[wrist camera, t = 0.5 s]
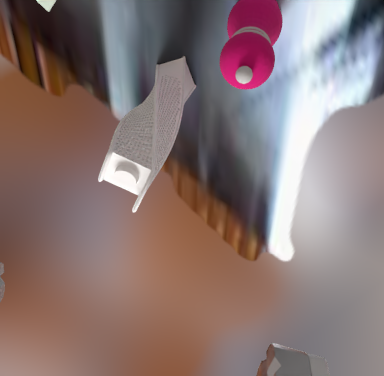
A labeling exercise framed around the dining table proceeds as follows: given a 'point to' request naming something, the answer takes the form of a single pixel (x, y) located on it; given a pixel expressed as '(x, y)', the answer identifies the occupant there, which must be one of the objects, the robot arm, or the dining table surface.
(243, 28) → the pepper mill
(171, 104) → the skyscraper
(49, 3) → the mat
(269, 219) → the dining table surface
